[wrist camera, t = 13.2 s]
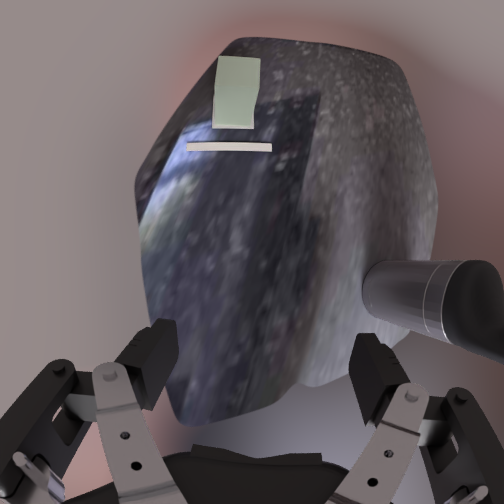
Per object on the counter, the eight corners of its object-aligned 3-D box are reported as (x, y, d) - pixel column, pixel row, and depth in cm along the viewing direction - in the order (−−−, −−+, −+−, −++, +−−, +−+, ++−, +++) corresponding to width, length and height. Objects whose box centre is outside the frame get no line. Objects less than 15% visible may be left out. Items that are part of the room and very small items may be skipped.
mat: (252, 96, 37) (253, 95, 37) (253, 129, 37) (253, 128, 37) (213, 95, 36) (213, 94, 36) (212, 128, 36) (212, 127, 36)
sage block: (251, 99, 37) (260, 58, 27) (249, 126, 37) (259, 88, 27) (218, 97, 36) (218, 55, 26) (215, 124, 36) (214, 85, 26)
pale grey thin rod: (271, 144, 37) (271, 143, 37) (271, 151, 37) (271, 151, 37) (187, 143, 36) (186, 143, 36) (186, 151, 36) (186, 150, 36)
